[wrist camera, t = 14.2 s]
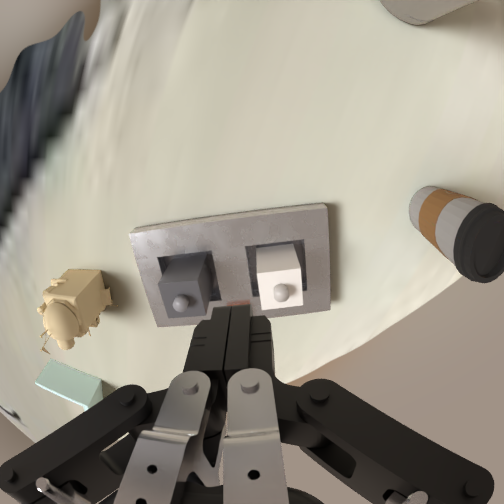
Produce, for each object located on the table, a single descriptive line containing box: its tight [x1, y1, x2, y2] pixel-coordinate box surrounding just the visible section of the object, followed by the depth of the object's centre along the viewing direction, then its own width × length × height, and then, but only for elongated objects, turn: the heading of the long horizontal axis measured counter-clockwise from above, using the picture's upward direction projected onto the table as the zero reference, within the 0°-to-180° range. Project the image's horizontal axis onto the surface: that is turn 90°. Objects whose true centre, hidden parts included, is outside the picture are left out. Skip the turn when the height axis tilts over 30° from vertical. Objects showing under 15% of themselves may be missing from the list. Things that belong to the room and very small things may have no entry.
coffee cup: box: [409, 187, 504, 283], centre depth 29 cm, size 8×8×15 cm
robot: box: [37, 269, 118, 354], centre depth 35 cm, size 10×8×15 cm
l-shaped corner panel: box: [35, 359, 103, 411], centre depth 48 cm, size 12×12×8 cm
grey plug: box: [158, 254, 213, 318], centre depth 36 cm, size 5×5×8 cm
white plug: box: [256, 244, 303, 310], centre depth 35 cm, size 5×5×8 cm
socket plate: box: [129, 203, 330, 327], centre depth 38 cm, size 14×24×3 cm, turn 98°
